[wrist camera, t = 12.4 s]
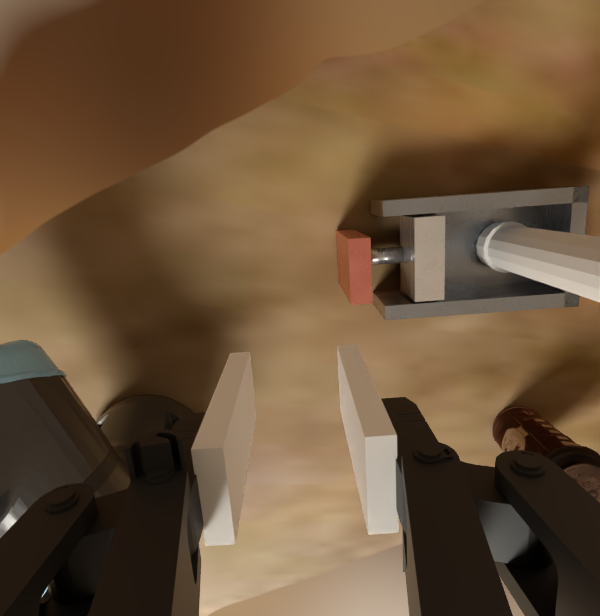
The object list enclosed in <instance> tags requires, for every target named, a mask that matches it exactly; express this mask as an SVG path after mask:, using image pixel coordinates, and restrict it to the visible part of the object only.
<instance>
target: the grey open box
mask: <svg viewBox="0 0 600 616" xmlns="http://www.w3.org/2000/svg"><path fill="white" fill-rule="evenodd" d="M588 194H589V186H575V187H552V188H537V189H523V190H509V191H496V192H482V193H468V194H454V195H441V196H427V197H413V198H400V199H386V200H372V201H370V214H372V215H377V216H381V217H387V216H400V215H414V214H428V213H432V214H436V215H445V288H444V300H434V301H420V302H414V301H413V300H412V299H411V298H410V297H409V296H407V295H406V294H405V293H404V292H403V291H401V290H392V291H379V292H373V305H374V306H375V307H376V309H377V310H378V311H379V313H380V314H381V315H382V317H383V318H384V319H385V320H395V319H409V318H422V317H436V316H450V315H464V314H478V313H492V312H505V311H519V310H533V309H547V308H561V307H575V306H579V295H577V294H574V293H571V292H568V291H565V290H562V289H559V288H556V287H553V286H550V285H548V284H545V283H542V282H539V281H536V280H533V279H530V278H527V277H524V276H521V275H518V274H515V273H512V272H509V273H503V272H498V271H495V270H493V269H492V268H490V267H488V266H486V265H485V264H484V263H482V262H481V260H480V259H479V257H478V255H477V247H476V244H477V241H478V238H479V236H480V234H481V233H482V232H483V231H484V229H485V228H487V227H488V226H490V225H491V224H493V223H498V222H508V221H513V222H517V223H522V224H523V225H525V226H526V227H528V228H536V229H544V230H551V231H559V232H567V233H574V234H582V235H585V227H586V216H587V205H588Z"/></svg>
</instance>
